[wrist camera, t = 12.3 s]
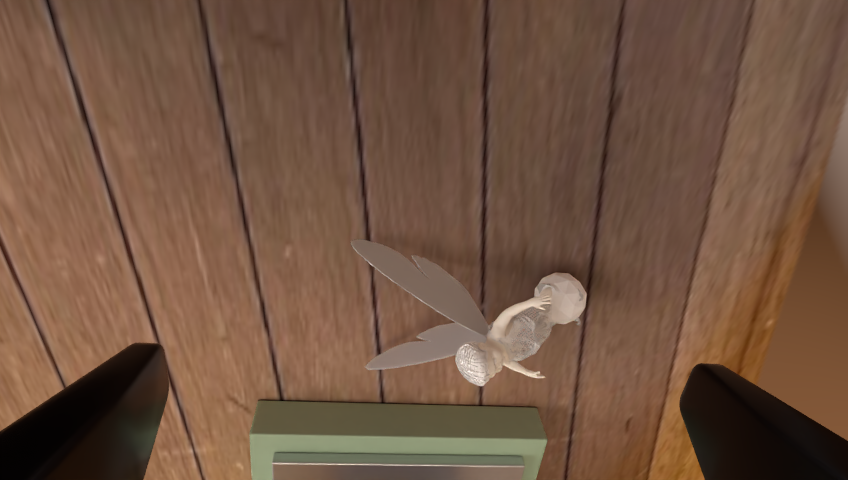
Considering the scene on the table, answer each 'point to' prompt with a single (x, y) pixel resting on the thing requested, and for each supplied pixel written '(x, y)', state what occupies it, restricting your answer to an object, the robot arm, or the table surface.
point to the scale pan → (394, 467)
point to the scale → (394, 431)
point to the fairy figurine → (472, 317)
